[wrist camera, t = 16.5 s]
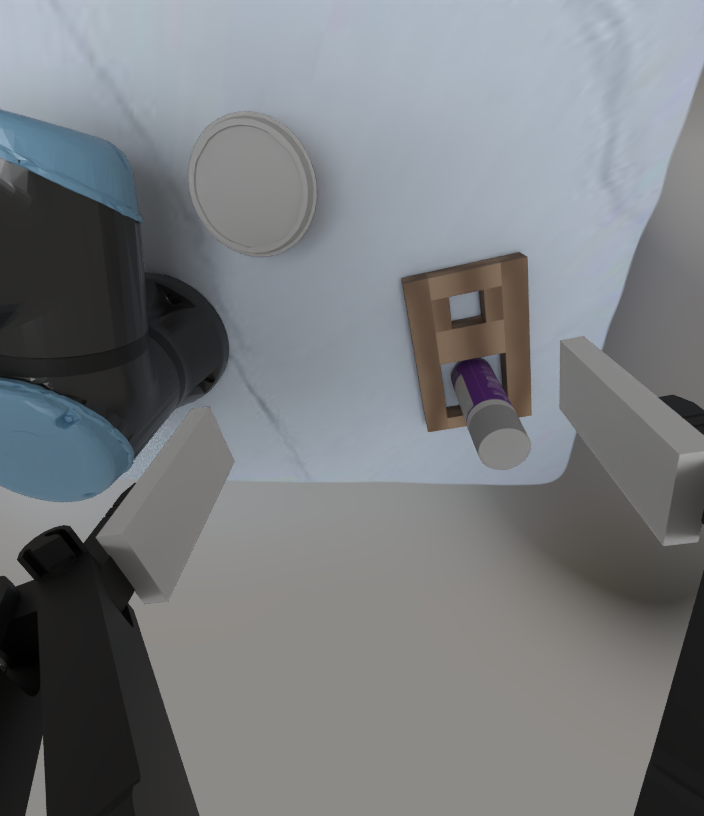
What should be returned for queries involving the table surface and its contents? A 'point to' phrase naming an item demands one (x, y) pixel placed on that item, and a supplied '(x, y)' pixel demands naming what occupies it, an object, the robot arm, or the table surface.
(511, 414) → the container
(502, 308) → the socket board
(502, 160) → the table surface
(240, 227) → the disposable coffee cup
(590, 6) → the table surface
